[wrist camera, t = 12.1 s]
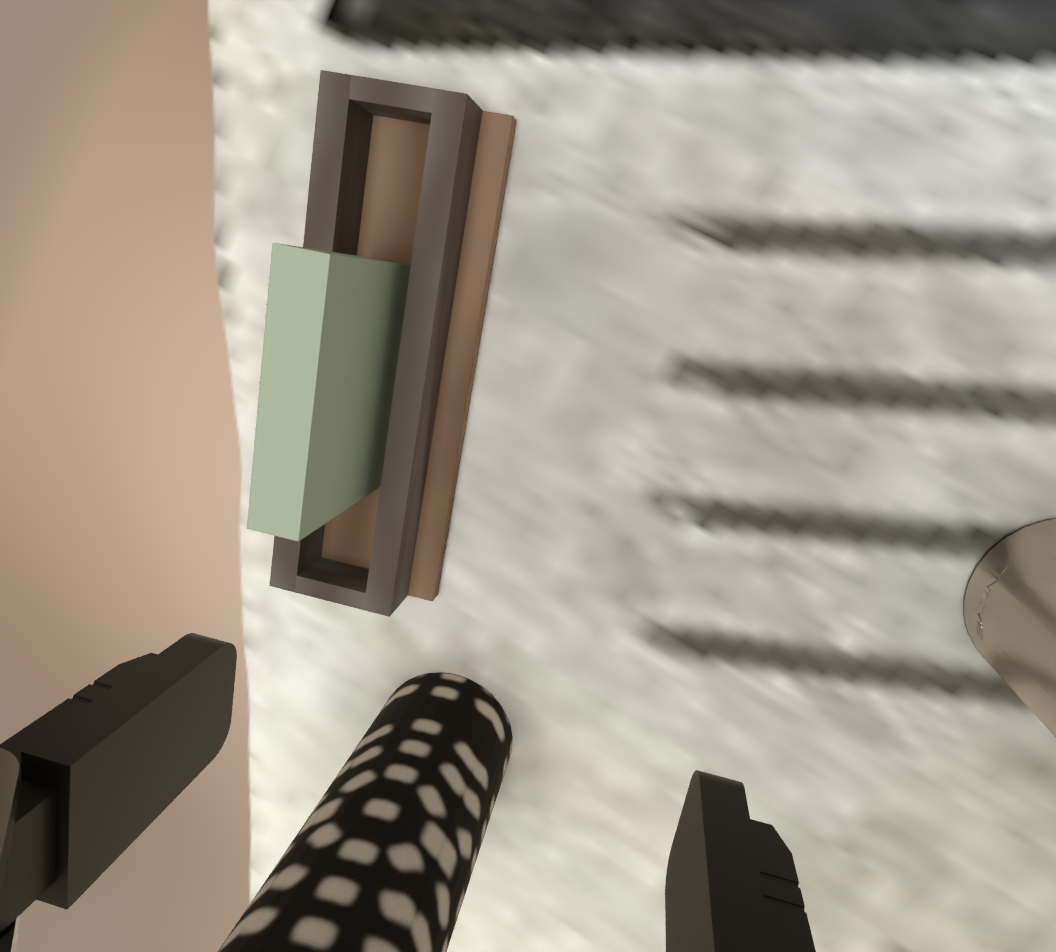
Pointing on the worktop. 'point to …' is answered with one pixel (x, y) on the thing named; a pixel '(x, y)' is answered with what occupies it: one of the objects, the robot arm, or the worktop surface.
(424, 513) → the door track
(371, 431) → the door panel
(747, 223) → the worktop surface
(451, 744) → the spotted tube
